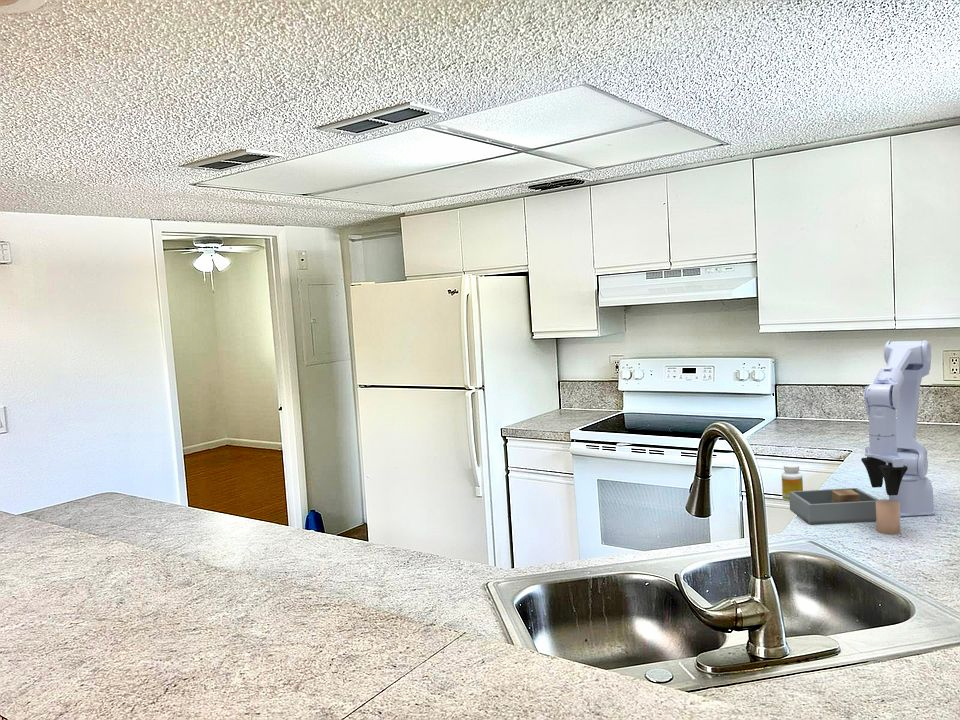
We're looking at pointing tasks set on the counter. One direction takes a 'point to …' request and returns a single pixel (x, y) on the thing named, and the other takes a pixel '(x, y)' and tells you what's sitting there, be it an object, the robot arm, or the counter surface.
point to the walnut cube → (845, 496)
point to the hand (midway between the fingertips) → (884, 491)
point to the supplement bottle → (791, 480)
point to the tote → (832, 507)
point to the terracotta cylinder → (887, 516)
